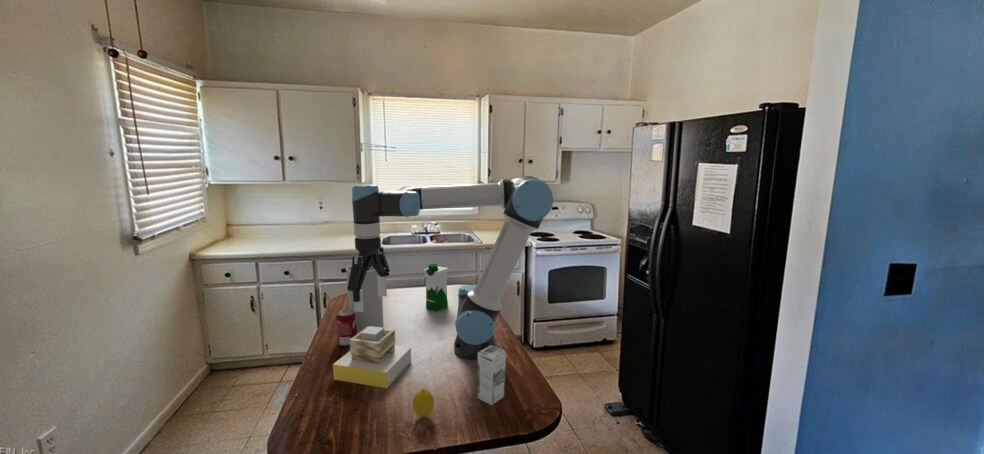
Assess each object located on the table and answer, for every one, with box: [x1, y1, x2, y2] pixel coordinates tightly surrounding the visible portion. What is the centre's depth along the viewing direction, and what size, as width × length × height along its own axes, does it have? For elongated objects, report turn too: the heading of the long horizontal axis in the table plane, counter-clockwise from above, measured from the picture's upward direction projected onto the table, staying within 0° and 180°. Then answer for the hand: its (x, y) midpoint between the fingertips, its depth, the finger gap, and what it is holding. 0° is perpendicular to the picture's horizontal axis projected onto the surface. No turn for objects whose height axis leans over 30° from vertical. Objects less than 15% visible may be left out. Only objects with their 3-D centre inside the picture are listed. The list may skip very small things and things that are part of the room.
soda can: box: [335, 308, 357, 347], centre depth 151 cm, size 7×7×12 cm
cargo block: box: [361, 326, 385, 342], centre depth 132 cm, size 5×5×4 cm
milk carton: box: [423, 263, 449, 312], centre depth 185 cm, size 9×9×20 cm
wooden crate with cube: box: [349, 327, 396, 364], centre depth 132 cm, size 10×10×7 cm
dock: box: [332, 345, 412, 389], centre depth 133 cm, size 18×16×5 cm
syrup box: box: [476, 345, 507, 406], centre depth 118 cm, size 6×6×14 cm
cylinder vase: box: [346, 264, 385, 334], centre depth 162 cm, size 12×12×25 cm
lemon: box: [412, 388, 435, 418], centre depth 110 cm, size 6×6×8 cm
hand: (371, 303), depth 130 cm, fingers open, 13 cm apart
